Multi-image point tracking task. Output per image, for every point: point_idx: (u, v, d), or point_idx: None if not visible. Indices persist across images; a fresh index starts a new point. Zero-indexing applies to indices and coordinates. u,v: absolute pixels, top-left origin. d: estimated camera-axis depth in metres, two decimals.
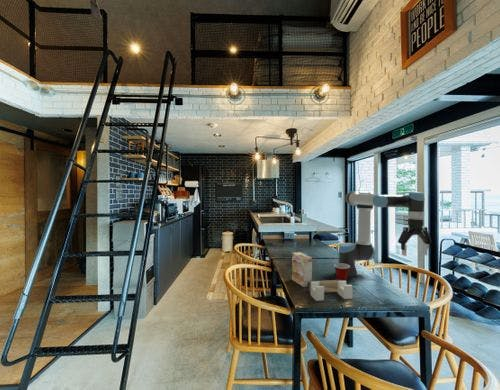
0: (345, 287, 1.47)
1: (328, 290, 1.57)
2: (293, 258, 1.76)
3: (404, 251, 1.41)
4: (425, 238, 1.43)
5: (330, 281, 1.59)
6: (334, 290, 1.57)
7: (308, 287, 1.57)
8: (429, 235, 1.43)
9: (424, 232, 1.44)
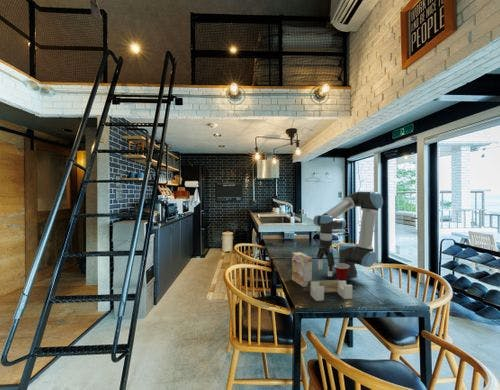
0: (345, 287, 1.47)
1: (328, 290, 1.57)
2: (293, 258, 1.76)
3: None
4: (327, 259, 1.52)
5: (330, 281, 1.59)
6: (334, 290, 1.57)
7: (308, 287, 1.57)
8: (329, 258, 1.49)
9: None
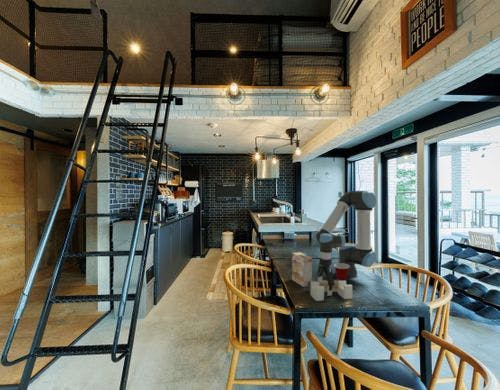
0: (345, 287, 1.47)
1: None
2: (293, 258, 1.76)
3: None
4: (327, 278, 1.52)
5: None
6: (334, 290, 1.57)
7: (308, 287, 1.57)
8: (329, 277, 1.50)
9: None
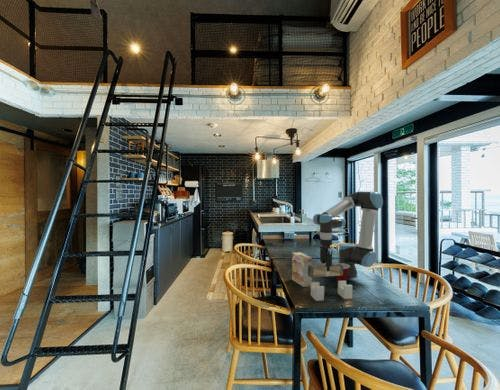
0: (345, 287, 1.47)
1: None
2: (293, 258, 1.76)
3: None
4: (326, 259, 1.55)
5: None
6: (335, 274, 1.57)
7: (309, 271, 1.57)
8: (328, 259, 1.52)
9: None
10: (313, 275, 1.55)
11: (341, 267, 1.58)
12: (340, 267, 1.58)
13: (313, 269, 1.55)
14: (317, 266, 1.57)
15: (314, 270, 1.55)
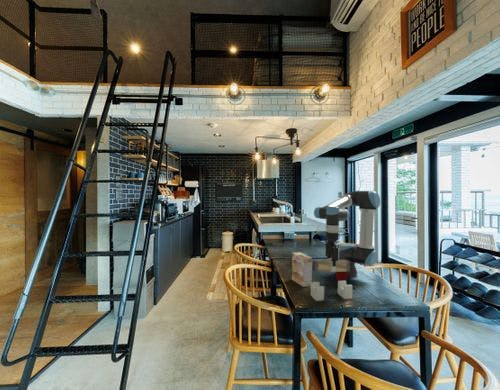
0: (345, 287, 1.47)
1: None
2: (293, 258, 1.76)
3: None
4: (332, 254, 1.47)
5: None
6: (341, 270, 1.49)
7: (313, 266, 1.48)
8: (334, 253, 1.44)
9: None
10: (318, 270, 1.47)
11: (348, 262, 1.49)
12: (347, 262, 1.49)
13: (318, 263, 1.46)
14: (322, 261, 1.49)
15: (319, 264, 1.47)
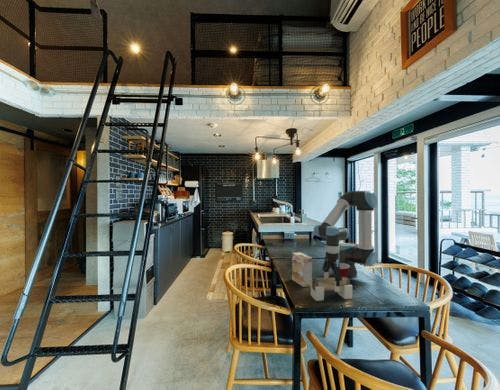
0: (345, 287, 1.47)
1: None
2: (293, 258, 1.76)
3: None
4: (334, 274, 1.44)
5: None
6: (341, 288, 1.49)
7: (313, 284, 1.48)
8: (336, 272, 1.41)
9: None
10: None
11: (347, 280, 1.49)
12: (346, 280, 1.49)
13: (318, 282, 1.46)
14: (322, 279, 1.49)
15: (319, 283, 1.47)
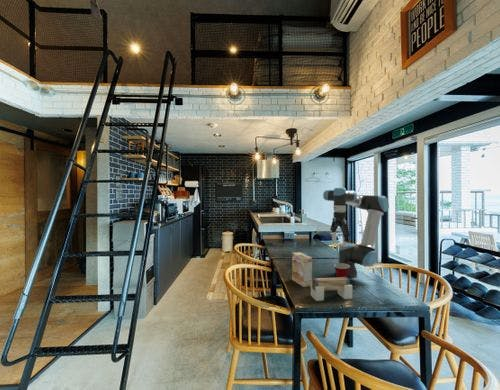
0: (345, 287, 1.47)
1: (334, 287, 1.48)
2: (293, 258, 1.76)
3: None
4: (342, 230, 1.54)
5: (336, 278, 1.51)
6: (341, 288, 1.49)
7: (313, 284, 1.48)
8: (344, 228, 1.52)
9: None
10: None
11: (347, 280, 1.49)
12: (346, 280, 1.49)
13: (318, 282, 1.46)
14: (322, 279, 1.49)
15: (319, 283, 1.47)
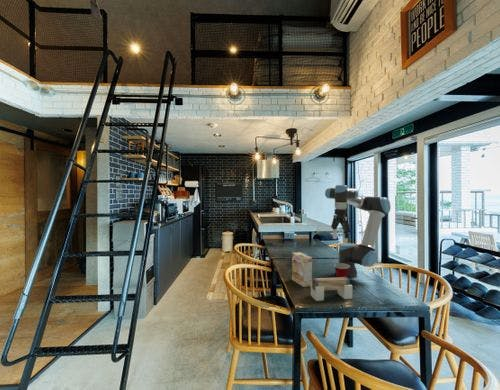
0: (345, 287, 1.47)
1: (334, 287, 1.48)
2: (293, 258, 1.76)
3: None
4: (343, 227, 1.56)
5: (336, 278, 1.51)
6: (341, 288, 1.49)
7: (313, 284, 1.48)
8: (345, 225, 1.53)
9: None
10: None
11: (347, 280, 1.49)
12: (346, 280, 1.49)
13: (318, 282, 1.46)
14: (322, 279, 1.49)
15: (319, 283, 1.47)
